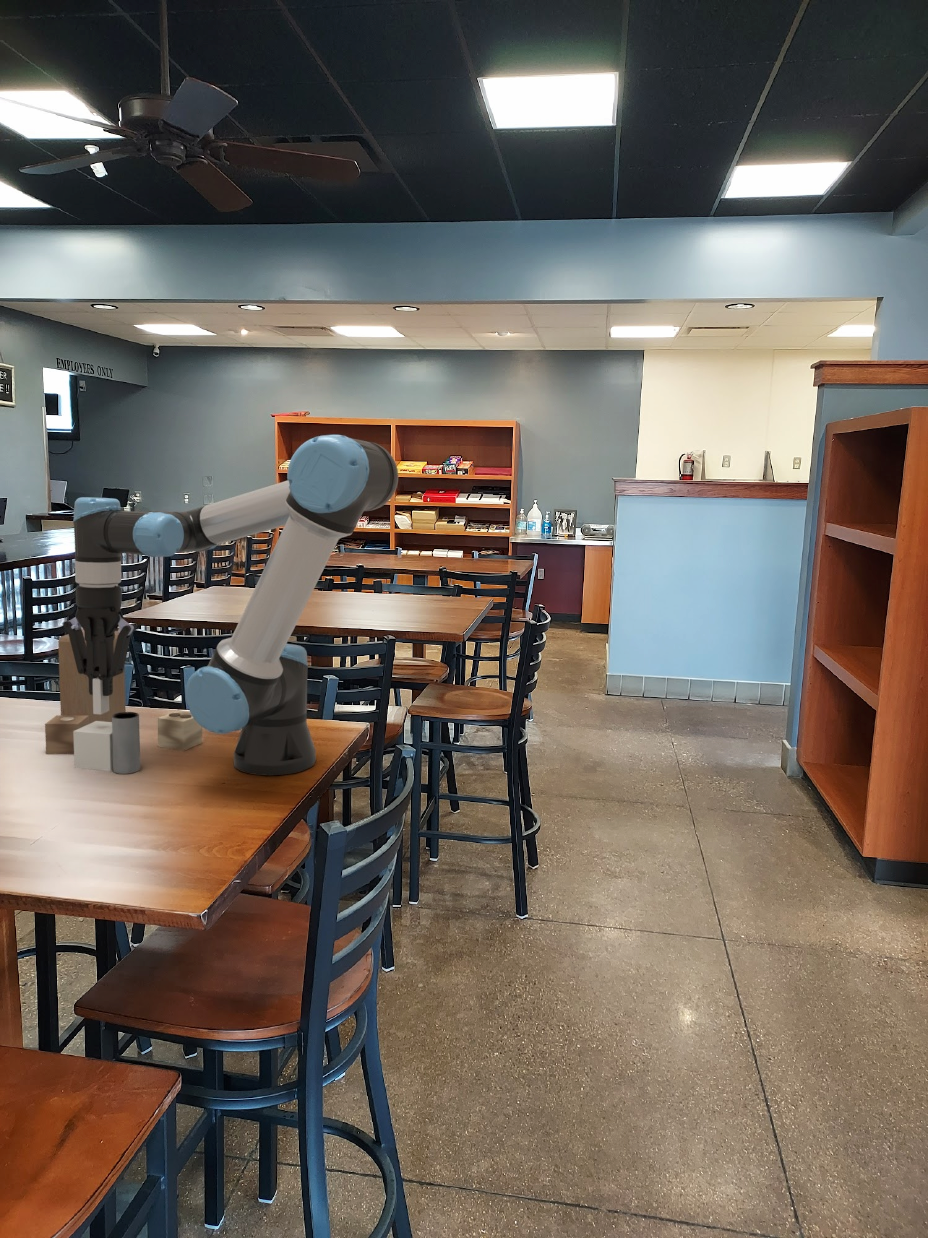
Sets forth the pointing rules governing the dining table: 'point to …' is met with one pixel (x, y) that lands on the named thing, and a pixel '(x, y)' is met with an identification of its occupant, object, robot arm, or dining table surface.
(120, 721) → the planter
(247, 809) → the dining table surface
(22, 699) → the dining table surface
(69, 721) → the walnut block
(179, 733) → the maple block
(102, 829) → the dining table surface
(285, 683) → the robot arm
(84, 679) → the block
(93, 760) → the grey block
